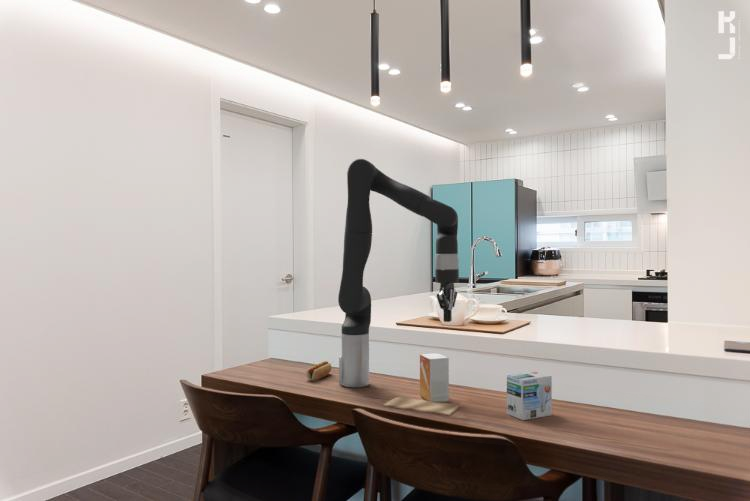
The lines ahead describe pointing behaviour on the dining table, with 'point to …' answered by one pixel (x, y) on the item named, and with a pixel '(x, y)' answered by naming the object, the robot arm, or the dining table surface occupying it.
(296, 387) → the dining table surface
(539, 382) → the light bulb box
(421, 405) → the wooden board
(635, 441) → the dining table surface
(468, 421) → the dining table surface
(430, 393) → the small box
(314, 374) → the food
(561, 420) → the dining table surface
